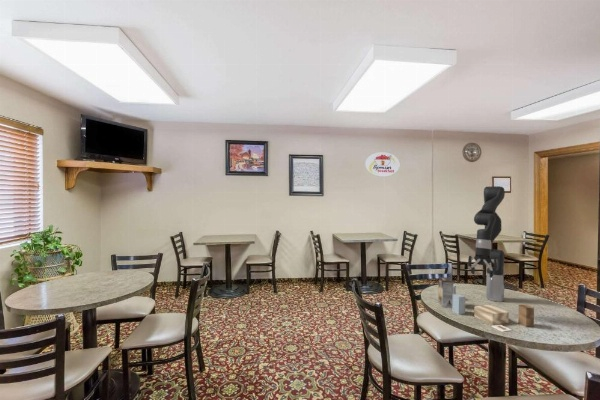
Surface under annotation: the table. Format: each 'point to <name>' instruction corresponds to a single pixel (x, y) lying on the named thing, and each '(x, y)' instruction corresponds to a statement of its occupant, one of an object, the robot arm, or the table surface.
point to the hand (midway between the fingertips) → (481, 275)
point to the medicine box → (454, 289)
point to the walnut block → (526, 315)
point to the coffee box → (445, 292)
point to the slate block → (458, 304)
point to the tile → (501, 328)
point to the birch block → (491, 314)
